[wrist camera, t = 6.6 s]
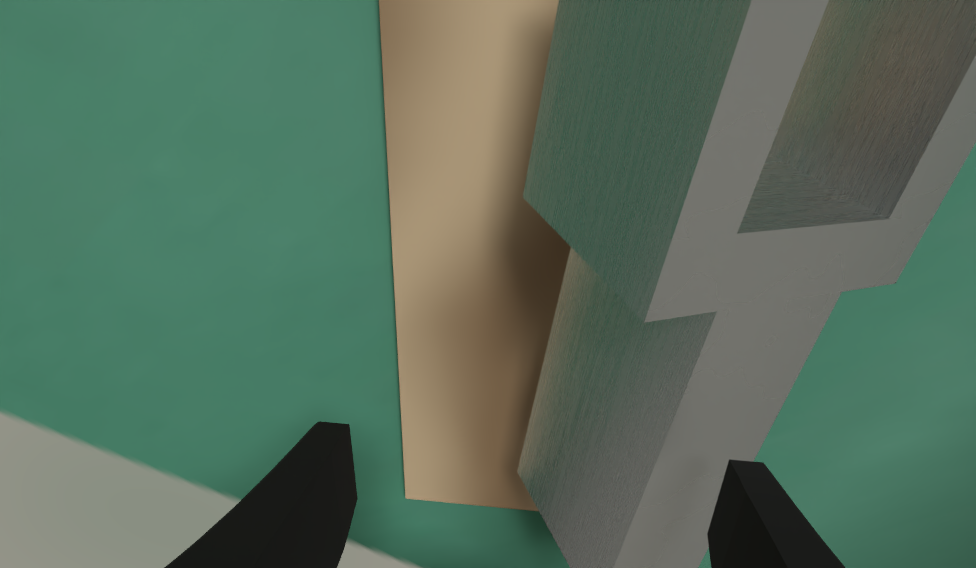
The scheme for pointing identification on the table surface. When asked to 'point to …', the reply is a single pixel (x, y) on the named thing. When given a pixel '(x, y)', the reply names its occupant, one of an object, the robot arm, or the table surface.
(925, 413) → the table surface
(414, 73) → the cork mat
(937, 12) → the steel fork
